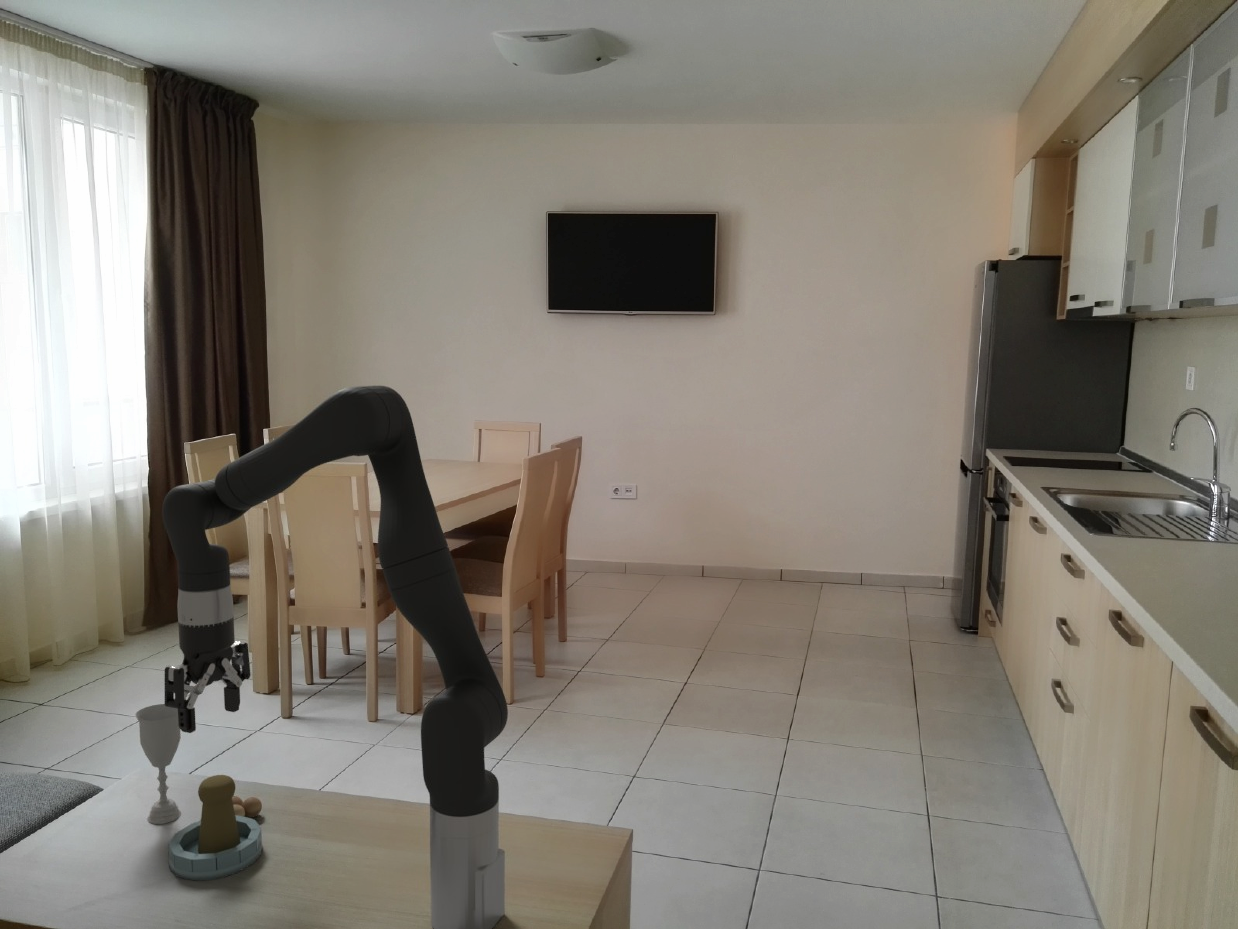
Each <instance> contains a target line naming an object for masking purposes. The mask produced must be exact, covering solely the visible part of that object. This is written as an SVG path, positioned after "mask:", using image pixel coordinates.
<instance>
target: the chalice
mask: <svg viewBox="0 0 1238 929" xmlns="http://www.w3.org/2000/svg"><path fill="white" fill-rule="evenodd" d="M135 718H136V719H137V720H138V726H139V743H140V746H141V747H142V750H143V753H144V755H145V756H146V758H147V759H148V761H149V762H150V764H151V766H152V767H154V768H158V776H157V778H156V780H158V782H159V786H158V787H157V791H158V792H159V794H160V795H159V796H160V797H159V799H157V801H156V802H154V803H153V804H152V806H151V808H150V809H151V810H150V811H149V815H148V816H147V818H146V820H147V822H148V821H149V822H148V823H149V824H153V825H154V824H155V825H160V824H162V825H163V824H167V823H170V822H173V821H176V820H178V819H179V818H180V817H181V815H182V811H181V810H180V809H179V806H178V804H177V803H176V801H174V800H173V799H171V798H168V796H167V791H168V789H170V786H168V785H167V783H166V782H167V779H168V775H167V774H166V773H167V772H166V767H168V766H170V765H171V763H172V762H173V760H174V757H175V755H176V753H177V750H178V748H179V745H180V741H181V739H182V738H181V736H182V735H181V729H180V728H179V724H178V723H179V722H178V709H176V708H171V707H166V706H165V703H160V704H154V705H149V706H145V707H143V708H141V709H139V710H138V711H136V713H135Z"/></svg>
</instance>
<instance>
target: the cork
mask: <svg viewBox="0 0 1238 929" xmlns="http://www.w3.org/2000/svg"><path fill="white" fill-rule="evenodd" d="M197 791H198V792H197V796H198V798H199V800H200V801H201V803H202V805H201V816H200V821H201V824H200V834H199V844H198V853H199V854H210V853H218V852H221V851H225V850H228V849H231V848H234V847H236V846H237V845H239V844H240V843H241V842H240V837H239V832H238V827H237V822H236V816H235V811H234V806H233V801H232V797H233V796H235V792H236V782H235V780H234V779H233V778H232V777H231V776H230V775H225V774H217V775H216V774H215V775H212V776H211V775H210V776H209V777H206V778H205V779H204V780H202V781H201V782H200V784H199V787H198V790H197Z"/></svg>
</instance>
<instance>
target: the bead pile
mask: <svg viewBox="0 0 1238 929" xmlns="http://www.w3.org/2000/svg"><path fill="white" fill-rule="evenodd" d="M232 801H233V806H234V811H235V815H237V816H238V815H239V816H243V817H247V818H251V819H253V818H255V817H257V816H258V815H260V813H261V811H262V809H263V808H262V807H263V804H262V801H261V800H260V799H259V798H258V797H255V796H251V797H248V798H245V799H244V801H243V799H241V797H239V796H238V795H237V796H236V795H233V797H232Z"/></svg>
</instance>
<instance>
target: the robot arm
mask: <svg viewBox="0 0 1238 929" xmlns="http://www.w3.org/2000/svg"><path fill="white" fill-rule="evenodd" d="M418 444H419V443H418V441H417V435H416V431H415V426H414V423H413V419H412V416H411V412H410V408H408V405H407V402H406V401H405V399H404V398H403V396H402V395H401V394H399V393H398V392H397V391H396V390H395V389H393V388H392V387H390V386H385V385H362V386H361V385H360V386H359V385H358V386H349V387H345V388H341V389H339V390H337V391H336V392H335V393H333V394H332V395H330V396H329V397H327V398H326V399H325V400H324V401H322V402H321V403H320V404H319V405H318V406H316V407H315V408H314V409H313V410H312V411H310V412H309V413H307V415H306V416H305V417H303V418H302V419H301V420H299V422H297V423H296V424H294V425H292V426H291V427H290V428H289V429H288V430H286V431H284V432H283V433H282V434H280V435H278V436H277V437H275V438H274V439H272V440H270V441H268V442H266V443H264V444H263V445H261V446H259V447H257V448H255V449H253V450H252V451H250V452H248V453H245V454H244V455H241V456H240V457H239V458H236V459H235V460H233V461H231V462H229V463H227V464H226V465H224V466H223V467H222V468H221V469H220V470H219V471H218V473H217V474H216V477H215V478H212V479H209V480H204V481H198V482H192V483H187V484H181V485H177V486H174V487H173V488H171V490H169V491H168V492H167V494H166V495H165V498H164V499H163V503H162V508H161V516H162V521H163V525H164V528H165V531H166V534H167V536H168V539H169V542H170V545H171V548H172V551H173V554H174V556H175V559H176V562H177V582H178V583H177V584H178V596H177V619H178V621H177V622H178V623H177V624H178V625H177V626H178V640H179V641H178V642H179V645H178V647H179V649H180V651H181V652H182V654H183V660H182V663H181V664H179V665H175V666H173V665H167V666H165V668H164V704H165V706H166V707H171V708H176V709H178V722H179V723H178V724H179V728H180V731H181V732H183V733H187V734H191V733H193V732H194V733H195V731H196V729H197V727H196V726H197V725H196V708H195V704H196V702H197V699H198V697H199V696H200V695H202V694H203V692H204V690H205V688H206V687H207V686H210V685H211V684H213V683H214V682H219V681H221V682H222V683H223V684H224V685H226V686H224V687H223V700H224V702H223V703H224V710H225V711H226V712H230V713H236V712H238V711H239V710H240V704H241V690H240V688H241V687H242V684H243V682H245V680H249V679H250V678H251V667H250V655H249V654H250V653H249V643H248V642H244V641H239V640H237V641H236V640H235V637H236V636H235V617H234V598H233V593H232V586H231V566H230V562H231V561H230V555H229V551H228V550H227V548H226V547H225V546H223V545H219V544H214V543H210V541H209V539H208V537H207V533H206V531H207V530H211V529H215V528H220V527H223V526H226V525H228V524H230V523H232V522H234V521H236V520H237V519H239V518H241V517H242V516H243V515H245V514H246V513H247V512H249V510H250V509H251V508H253V507H255V506H258V505H260V504H262V503H264V502H266V501H268V500H270V499H271V498H273V497H276V496H277V495H279V494H281V493H283V492H284V491H286V490H287V489H289V488H290V487H291V486H293V484H295V483H296V482H297V481H298V480H299V479H300V478H301V477H302V476H303V475H305V474H306V473H308V472H309V471H311V470H313V469H315V468H316V467H319V466H321V465H324V464H327V463H330V462H333V461H338V460H342V459H345V458H348V457H353V456H354V457H364V456H367V457H368V459H369V462H370V463H371V466H372V469H373V473H374V475H375V477H376V481H377V485H378V486H377V487H378V490H379V496H380V498H379V499H380V507H379V508H380V510H379V523H378V531H377V534H378V535H377V553H378V560H379V563H380V568H381V569H382V573H383V576H384V579H385V581H386V582H385V583H386V584H387V585H386V586H387V588H388V592H389V594H390V596H391V600H392V601H393V603H394V605H395V606H396V608H397V609H398V611H399V612H400V613H401V614H402V616H403V618H404V619H406V620H407V622H408V623H409V624H410V625H411V626H412V627H413V628H414V629H415V630H416V631H417V633H418V634H419V635H421V636H422V638H423V639H424V640H425V642H426V643H427V644H428V645H429V647H430V648H431V651H432V652H433V654H434V656H435V659H436V661H437V665H438V667H439V669H440V673H441V676H442V679H443V684H444V687H445V690H443V691H442V692H441V693H440V694H438V695H436V696H435V697H434V698H432V699H431V700H430V701H429V702H428V703H427V704H426V706H425V708H424V710H423V713H422V717H421V722H420V742H421V743H420V744H421V745H420V746H421V747H420V748H421V761H422V762H421V764H422V776H423V781H424V785H425V788H426V790H427V792H428V794H429V845H430V846H429V848H430V849H429V851H430V852H429V853H430V854H429V859H430V860H429V861H430V862H429V864H430V865H429V868H430V870H429V871H430V872H429V873H430V874H429V876H430V879H429V880H430V924H431V926H432V928H433V929H493V928H494V927H496V926H495V925H497V923H498V922H499V921H500V920H501V919H502V917H503V916H504V915H505V912H506V911H505V910H506V908H505V906H506V905H505V904H506V902H505V900H506V899H505V898H506V897H505V896H506V895H505V894H506V892H505V891H506V887H505V886H506V885H505V884H506V882H505V878H506V877H505V876H506V875H505V874H506V873H505V872H506V871H505V870H506V869H505V868H506V862H505V861H506V860H505V859H506V854H505V853H506V852H505V850H504V849H502V848H499V844H500V839H499V838H500V837H499V836H500V834H499V833H500V831H499V826H500V824H499V818H500V810H499V805H500V802H499V801H500V795H499V794H500V790H499V789H500V785H499V780H498V777H497V776H496V774H494V773H493V772H492V771H490V770H488V769H486V765H485V748H486V747H487V746H488V745H490V743H492V742H493V741H495V739H497V737H499V736H500V734H502V733H503V731H504V730H505V728H506V726H507V723H508V716H509V715H508V714H509V712H508V711H509V709H508V703H507V699H506V697H505V694H504V691H503V688H502V686H501V683H500V681H499V679H498V677H497V674H496V673H495V670H494V668H493V667H492V663H491V662H490V659H489V656H488V655H487V653H486V651H485V648H484V646H483V644H482V641H481V640H480V636H479V634H478V632H477V629H476V625H475V623H474V619H473V616H472V613H471V611H470V607H469V605H468V603H467V599H466V597H465V594H464V590H463V589H462V586H461V581H460V578H459V574H458V571H457V568H456V564H455V563H454V559H453V556H452V554H451V550H450V548H449V543H448V542H447V540H446V536H445V533H444V531H443V529H442V526H441V522H440V519H439V517H438V514H437V510H436V506H435V503H434V500H433V496H432V494H431V491H430V488H429V485H428V482H427V478H426V475H425V472H424V466H423V462H422V460H421V459H422V458H421V454H420V453H421V452H420V450H419V445H418ZM191 683H193V684H194V685H191Z"/></svg>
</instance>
